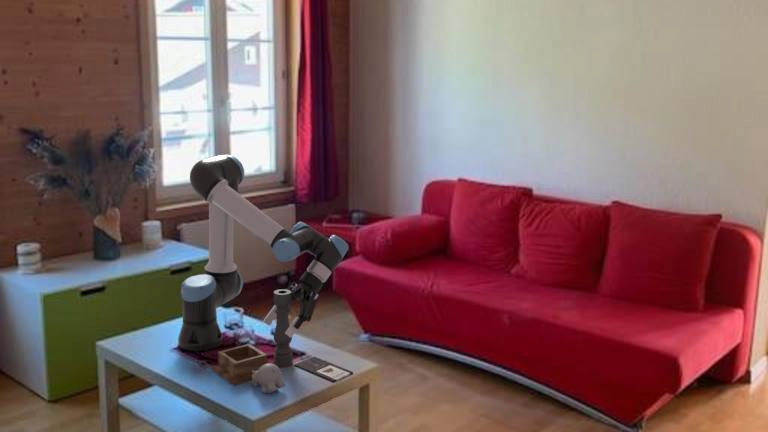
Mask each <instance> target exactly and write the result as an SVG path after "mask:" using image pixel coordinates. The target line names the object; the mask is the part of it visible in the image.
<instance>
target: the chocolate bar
mask: <svg viewBox="0 0 768 432" xmlns="http://www.w3.org/2000/svg"><path fill="white" fill-rule="evenodd" d="M294 367H296V368H298V369H301V370H303V371H305V372H308V373H310V374H312V375H315V376H317V377H320V378H322V379H325V380H327V381H328V382H332V383H336V382H339V381H340V380H342V379H344V378H346V377H349V376H351V375H353V374H354V372H353V371H351V370H349V369H346V368H344V367H341V366H340V365H336V364H335V363H334V364H333V363H332V362H329V361H327V360H324V359H321V358H319V357H316V356H312V357H310V358H307V359H305V360H302V361H299V362H297V363H295V364H294Z"/></svg>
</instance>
